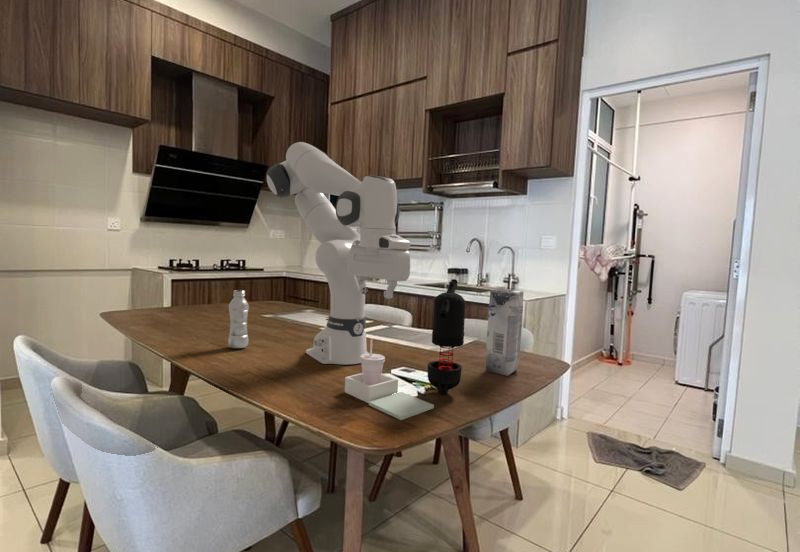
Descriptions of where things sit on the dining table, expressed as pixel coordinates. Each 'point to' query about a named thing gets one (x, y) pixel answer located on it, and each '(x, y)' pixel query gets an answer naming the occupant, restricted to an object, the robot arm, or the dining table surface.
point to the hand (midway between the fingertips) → (375, 295)
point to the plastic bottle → (238, 320)
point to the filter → (447, 338)
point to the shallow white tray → (370, 387)
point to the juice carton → (504, 330)
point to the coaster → (401, 405)
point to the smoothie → (372, 367)
